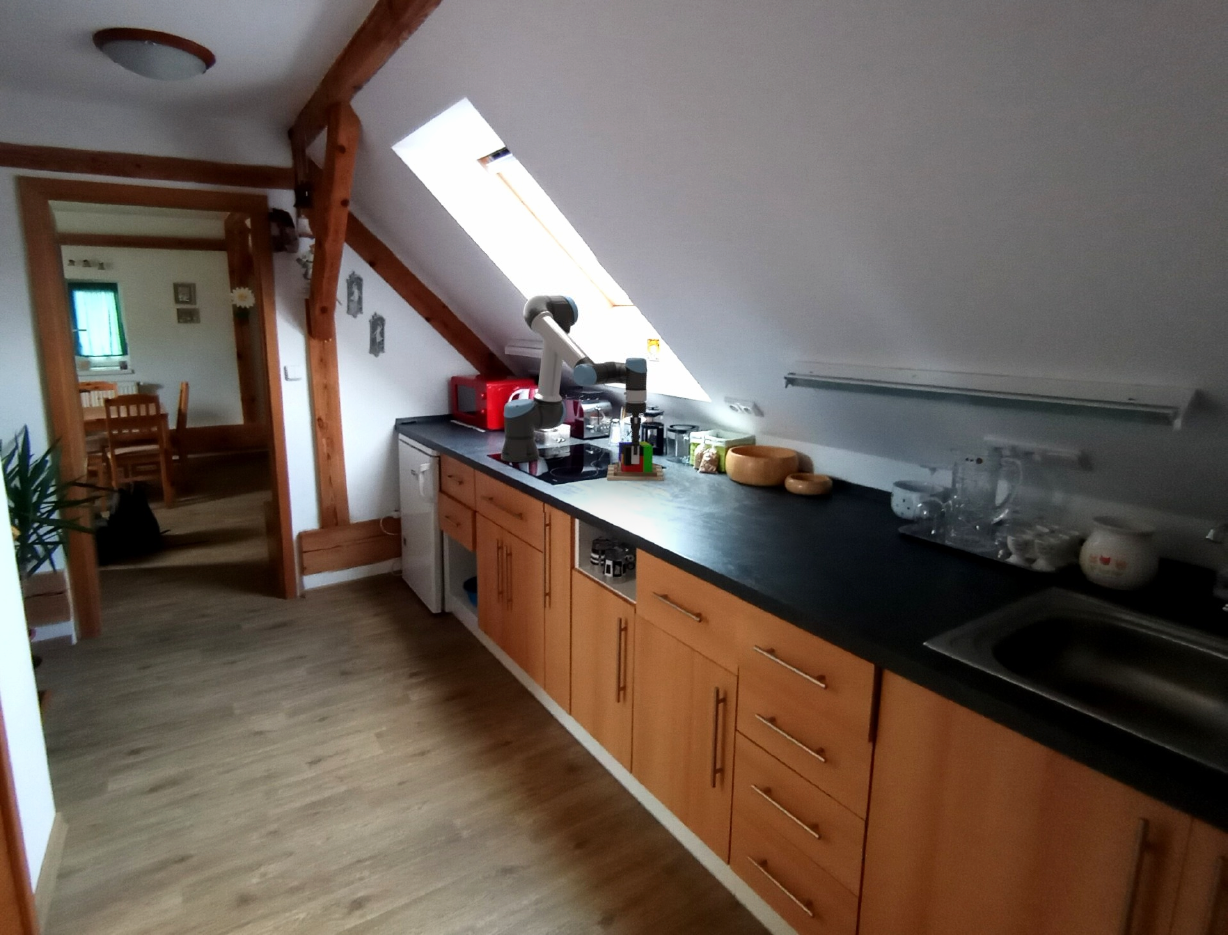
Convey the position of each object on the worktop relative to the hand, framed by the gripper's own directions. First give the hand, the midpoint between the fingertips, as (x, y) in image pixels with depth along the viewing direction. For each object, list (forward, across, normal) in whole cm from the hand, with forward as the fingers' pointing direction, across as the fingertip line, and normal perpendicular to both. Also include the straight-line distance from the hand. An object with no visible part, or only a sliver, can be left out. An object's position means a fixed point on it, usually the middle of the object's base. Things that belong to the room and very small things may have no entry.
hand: (635, 459), depth 254 cm
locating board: (+5, 0, 0) cm, 5 cm away
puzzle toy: (+4, 0, 0) cm, 5 cm away
